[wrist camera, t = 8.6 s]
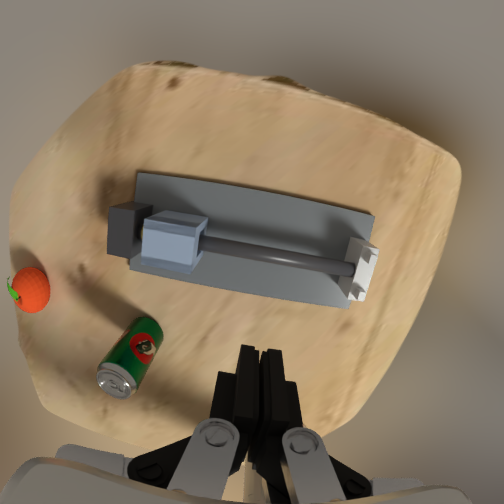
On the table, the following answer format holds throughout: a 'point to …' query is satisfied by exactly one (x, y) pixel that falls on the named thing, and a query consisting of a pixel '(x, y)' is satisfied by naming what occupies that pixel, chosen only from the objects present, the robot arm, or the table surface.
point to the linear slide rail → (255, 240)
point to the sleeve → (172, 241)
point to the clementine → (30, 290)
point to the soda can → (130, 358)
